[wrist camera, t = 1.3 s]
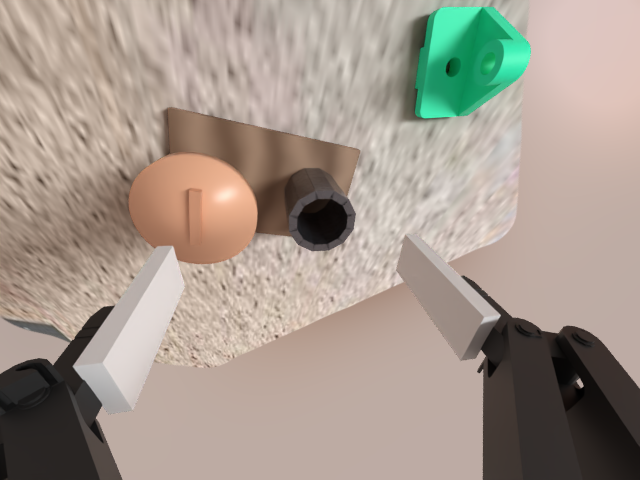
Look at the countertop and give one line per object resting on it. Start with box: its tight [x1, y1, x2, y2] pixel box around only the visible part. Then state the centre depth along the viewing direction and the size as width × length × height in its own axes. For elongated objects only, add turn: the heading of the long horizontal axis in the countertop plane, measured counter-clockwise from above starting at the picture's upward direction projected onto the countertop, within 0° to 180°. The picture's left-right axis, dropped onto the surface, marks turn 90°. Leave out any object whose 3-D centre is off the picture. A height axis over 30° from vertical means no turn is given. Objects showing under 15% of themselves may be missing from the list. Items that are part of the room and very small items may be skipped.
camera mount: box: [415, 7, 531, 118], centre depth 31 cm, size 12×8×10 cm, turn 2°
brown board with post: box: [168, 107, 360, 236], centre depth 35 cm, size 26×16×10 cm, turn 76°
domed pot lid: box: [129, 152, 258, 264], centre depth 27 cm, size 12×12×5 cm
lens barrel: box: [284, 168, 356, 251], centre depth 36 cm, size 8×8×10 cm
